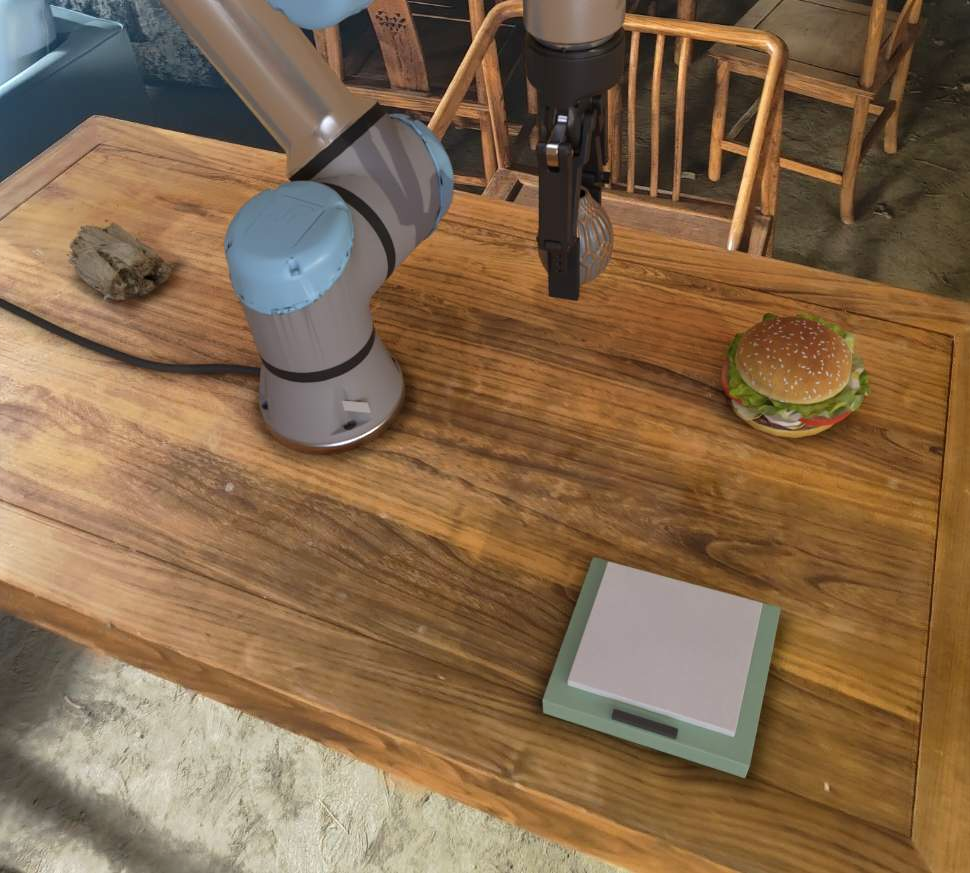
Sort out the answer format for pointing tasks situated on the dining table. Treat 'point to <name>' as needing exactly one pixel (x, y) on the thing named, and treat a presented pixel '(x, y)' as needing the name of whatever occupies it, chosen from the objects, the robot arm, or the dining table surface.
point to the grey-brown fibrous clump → (116, 262)
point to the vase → (590, 238)
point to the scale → (665, 665)
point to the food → (793, 375)
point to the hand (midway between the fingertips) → (575, 269)
